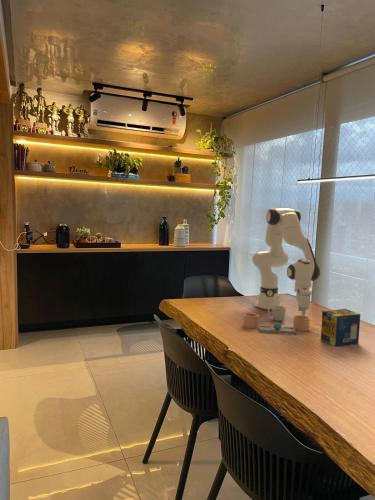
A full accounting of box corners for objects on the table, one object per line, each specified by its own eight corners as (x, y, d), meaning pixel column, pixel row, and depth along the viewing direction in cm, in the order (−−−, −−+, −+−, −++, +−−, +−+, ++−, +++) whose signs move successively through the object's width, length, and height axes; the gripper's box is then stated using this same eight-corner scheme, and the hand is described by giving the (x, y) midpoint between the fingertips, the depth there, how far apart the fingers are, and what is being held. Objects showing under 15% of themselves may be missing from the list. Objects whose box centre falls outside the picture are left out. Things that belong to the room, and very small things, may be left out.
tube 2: (292, 326, 214) (292, 314, 214) (307, 326, 213) (308, 315, 213) (294, 330, 206) (295, 319, 205) (310, 331, 205) (311, 319, 204)
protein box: (320, 340, 191) (321, 310, 189) (343, 337, 196) (345, 308, 195) (334, 347, 181) (336, 316, 179) (359, 343, 186) (361, 313, 185)
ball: (273, 328, 206) (273, 321, 206) (280, 328, 206) (280, 321, 206) (273, 330, 202) (274, 323, 202) (281, 330, 202) (281, 323, 202)
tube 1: (243, 323, 218) (243, 312, 217) (258, 324, 217) (258, 313, 216) (243, 327, 209) (243, 316, 209) (259, 328, 208) (259, 317, 208)
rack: (260, 332, 202) (260, 329, 201) (259, 328, 209) (259, 325, 209) (296, 334, 199) (296, 331, 199) (293, 329, 207) (293, 327, 207)
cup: (265, 319, 226) (266, 307, 225) (269, 316, 233) (269, 304, 232) (283, 322, 221) (284, 309, 220) (286, 319, 228) (287, 306, 227)
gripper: (294, 284, 218) (293, 307, 219) (300, 292, 198) (299, 317, 199) (305, 285, 217) (304, 308, 219) (312, 292, 197) (311, 318, 198)
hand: (301, 312), depth 209 cm, fingers open, 8 cm apart
